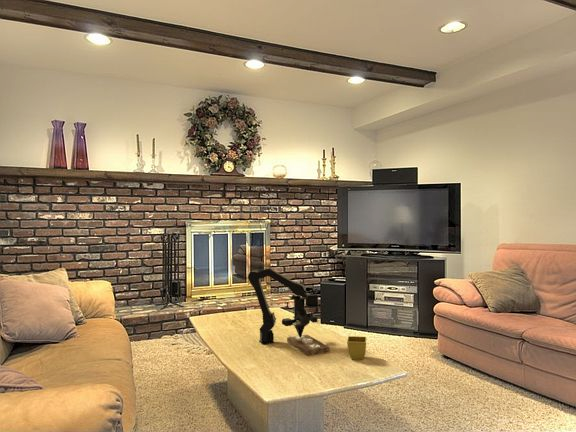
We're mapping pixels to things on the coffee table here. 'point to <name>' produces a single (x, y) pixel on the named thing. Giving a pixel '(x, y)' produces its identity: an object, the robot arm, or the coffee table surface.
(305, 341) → the button two
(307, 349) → the button panel
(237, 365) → the coffee table surface
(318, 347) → the button three
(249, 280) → the robot arm
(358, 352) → the flower pot
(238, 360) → the coffee table surface
